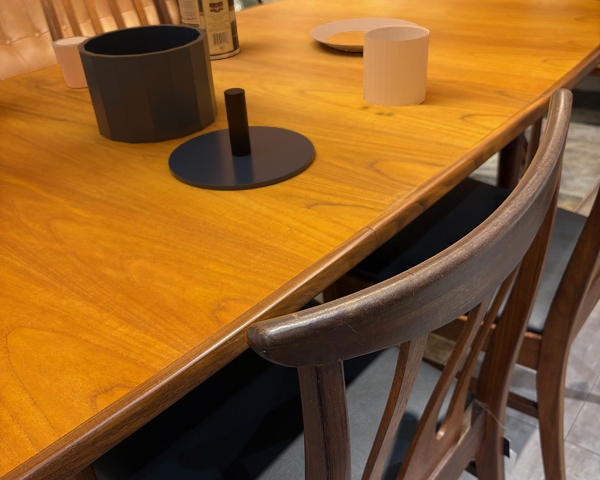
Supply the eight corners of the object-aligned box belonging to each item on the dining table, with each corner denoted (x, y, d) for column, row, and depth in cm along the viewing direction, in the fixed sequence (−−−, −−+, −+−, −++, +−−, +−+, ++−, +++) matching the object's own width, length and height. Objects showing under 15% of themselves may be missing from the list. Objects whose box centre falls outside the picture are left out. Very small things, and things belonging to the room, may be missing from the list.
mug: (415, 112, 85) (419, 42, 80) (354, 106, 89) (354, 39, 83) (437, 86, 94) (442, 21, 88) (381, 81, 97) (382, 18, 92)
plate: (391, 24, 127) (391, 12, 126) (440, 47, 111) (441, 34, 110) (296, 38, 123) (295, 26, 121) (333, 64, 106) (333, 51, 105)
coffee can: (211, 43, 123) (201, -36, 114) (251, 49, 118) (242, -34, 109) (174, 56, 116) (160, -27, 108) (214, 63, 111) (203, -24, 103)
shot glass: (109, 83, 105) (99, 40, 101) (69, 92, 102) (57, 48, 98) (95, 74, 110) (85, 33, 105) (57, 82, 107) (45, 40, 103)
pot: (75, 139, 84) (50, 52, 78) (146, 100, 96) (130, 22, 90) (175, 153, 78) (158, 60, 72) (238, 110, 90) (228, 27, 84)
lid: (140, 182, 72) (123, 109, 67) (217, 128, 85) (208, 63, 80) (275, 205, 66) (268, 126, 60) (336, 142, 78) (335, 73, 73)
